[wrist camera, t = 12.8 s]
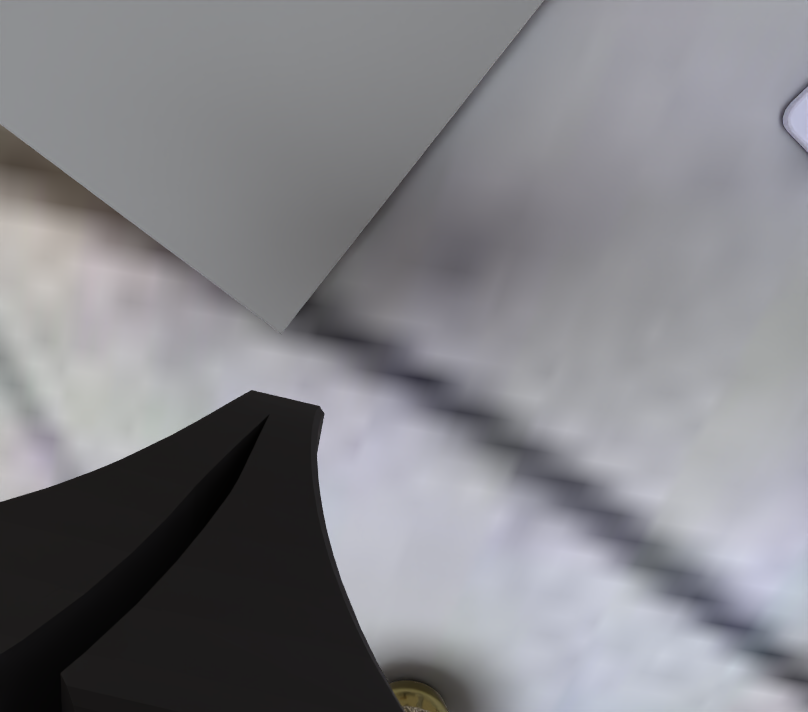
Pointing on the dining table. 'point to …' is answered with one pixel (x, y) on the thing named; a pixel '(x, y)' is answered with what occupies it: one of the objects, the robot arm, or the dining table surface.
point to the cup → (418, 697)
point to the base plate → (245, 118)
